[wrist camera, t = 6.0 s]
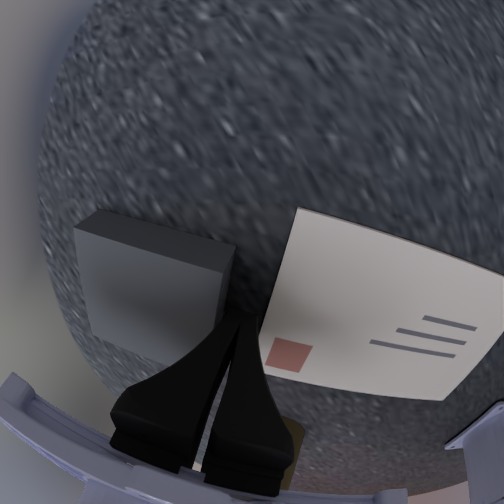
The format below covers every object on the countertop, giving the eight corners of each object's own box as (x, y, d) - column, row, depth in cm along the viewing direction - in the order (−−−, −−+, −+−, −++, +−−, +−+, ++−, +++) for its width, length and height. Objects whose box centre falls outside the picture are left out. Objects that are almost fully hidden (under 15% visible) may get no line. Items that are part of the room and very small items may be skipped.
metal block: (238, 241, 13) (222, 273, 11) (217, 345, 17) (205, 378, 14) (104, 205, 13) (73, 227, 11) (113, 308, 17) (92, 334, 15)
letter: (530, 286, 10) (531, 288, 10) (441, 398, 16) (442, 400, 15) (297, 206, 11) (297, 208, 11) (248, 366, 16) (247, 369, 16)
